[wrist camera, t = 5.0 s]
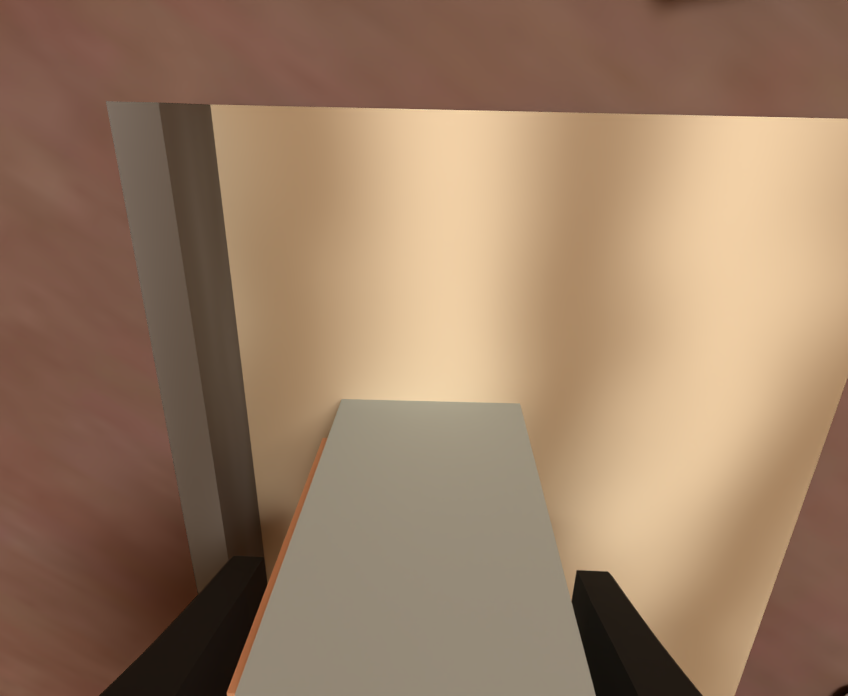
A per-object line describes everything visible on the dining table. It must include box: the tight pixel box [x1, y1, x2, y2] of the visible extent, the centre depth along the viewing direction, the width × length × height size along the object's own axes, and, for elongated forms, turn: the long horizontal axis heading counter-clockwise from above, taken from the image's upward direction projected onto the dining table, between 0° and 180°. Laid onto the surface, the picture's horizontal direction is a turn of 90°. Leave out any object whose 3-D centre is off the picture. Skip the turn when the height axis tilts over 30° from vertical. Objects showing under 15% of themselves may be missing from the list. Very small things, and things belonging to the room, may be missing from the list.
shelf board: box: [106, 101, 848, 696], centre depth 14 cm, size 14×24×3 cm, turn 179°
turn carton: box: [227, 399, 596, 696], centre depth 10 cm, size 4×6×7 cm
